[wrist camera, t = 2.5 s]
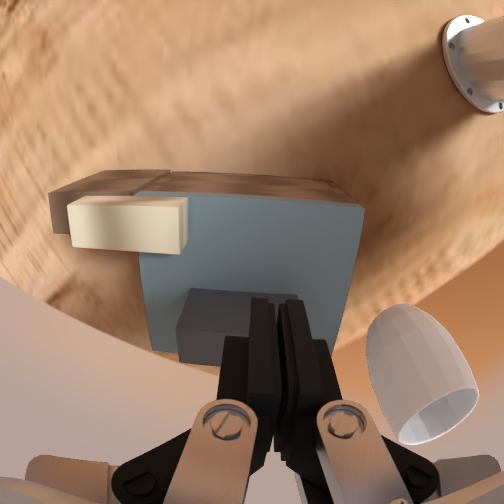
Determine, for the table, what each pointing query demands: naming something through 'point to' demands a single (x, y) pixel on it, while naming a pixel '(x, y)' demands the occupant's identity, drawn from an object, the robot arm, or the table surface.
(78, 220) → the cream rectangular block
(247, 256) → the grey piece
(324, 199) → the brown wooden open box
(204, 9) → the table surface
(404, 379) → the cup
